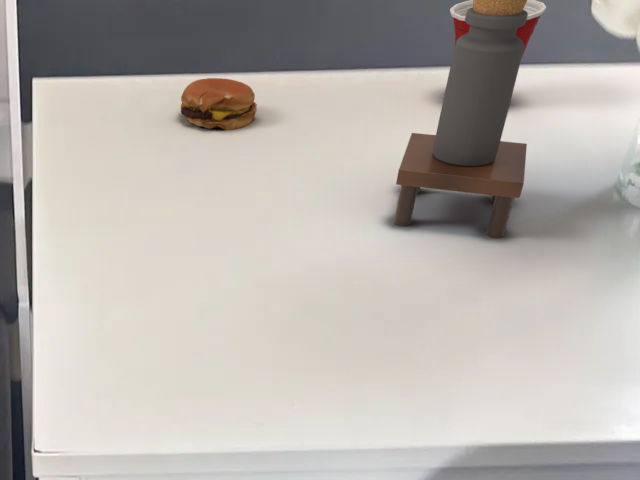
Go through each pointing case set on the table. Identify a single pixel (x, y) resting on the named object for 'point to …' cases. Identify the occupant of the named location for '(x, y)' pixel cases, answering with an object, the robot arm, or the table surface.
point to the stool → (461, 179)
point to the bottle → (480, 83)
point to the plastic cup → (523, 32)
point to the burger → (218, 103)
